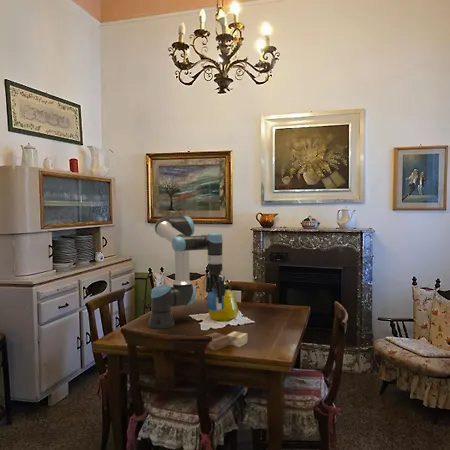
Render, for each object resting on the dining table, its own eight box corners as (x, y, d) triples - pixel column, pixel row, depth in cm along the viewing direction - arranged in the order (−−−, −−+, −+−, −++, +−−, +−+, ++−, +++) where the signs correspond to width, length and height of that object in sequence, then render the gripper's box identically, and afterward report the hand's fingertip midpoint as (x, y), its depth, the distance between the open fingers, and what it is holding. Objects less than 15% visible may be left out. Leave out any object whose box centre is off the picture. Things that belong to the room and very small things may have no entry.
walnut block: (201, 346, 221) (201, 336, 221) (215, 341, 228) (215, 332, 228) (214, 351, 214) (214, 341, 214) (228, 346, 221) (228, 336, 221)
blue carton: (213, 311, 215) (213, 287, 215) (206, 308, 220) (206, 285, 220) (223, 309, 219) (223, 285, 218) (216, 306, 224) (216, 283, 223)
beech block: (226, 344, 223) (226, 335, 223) (234, 340, 230) (234, 331, 229) (239, 347, 219) (239, 337, 218) (247, 343, 225) (247, 333, 225)
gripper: (198, 261, 224) (198, 305, 225) (219, 266, 208) (219, 313, 210) (210, 260, 228) (210, 303, 230) (232, 264, 213) (232, 310, 214)
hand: (215, 307), depth 220 cm, fingers closed on blue carton, 6 cm apart
